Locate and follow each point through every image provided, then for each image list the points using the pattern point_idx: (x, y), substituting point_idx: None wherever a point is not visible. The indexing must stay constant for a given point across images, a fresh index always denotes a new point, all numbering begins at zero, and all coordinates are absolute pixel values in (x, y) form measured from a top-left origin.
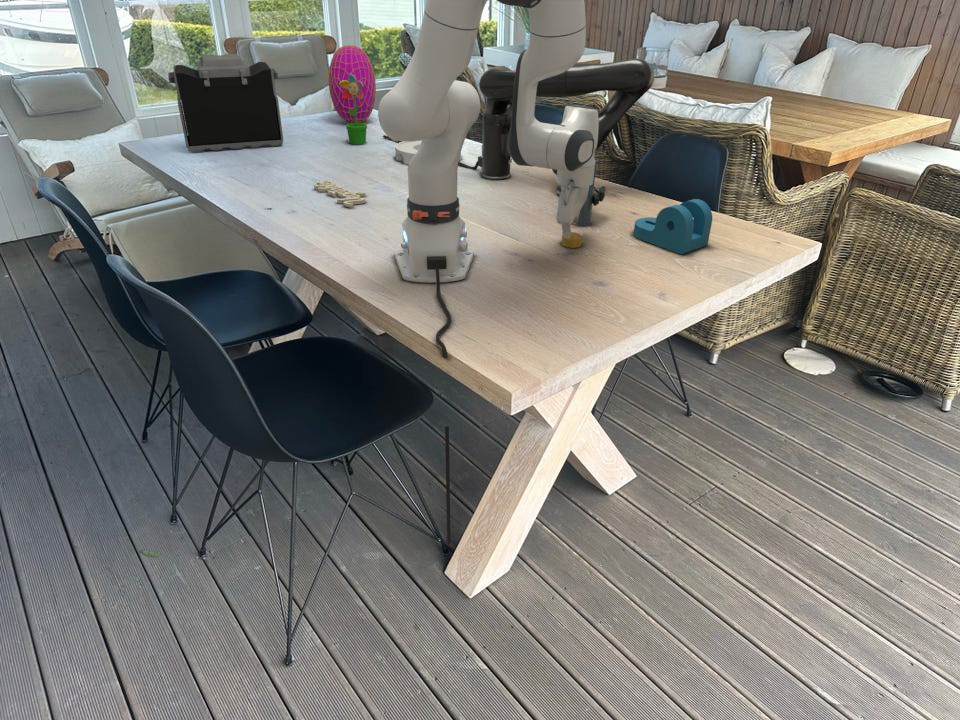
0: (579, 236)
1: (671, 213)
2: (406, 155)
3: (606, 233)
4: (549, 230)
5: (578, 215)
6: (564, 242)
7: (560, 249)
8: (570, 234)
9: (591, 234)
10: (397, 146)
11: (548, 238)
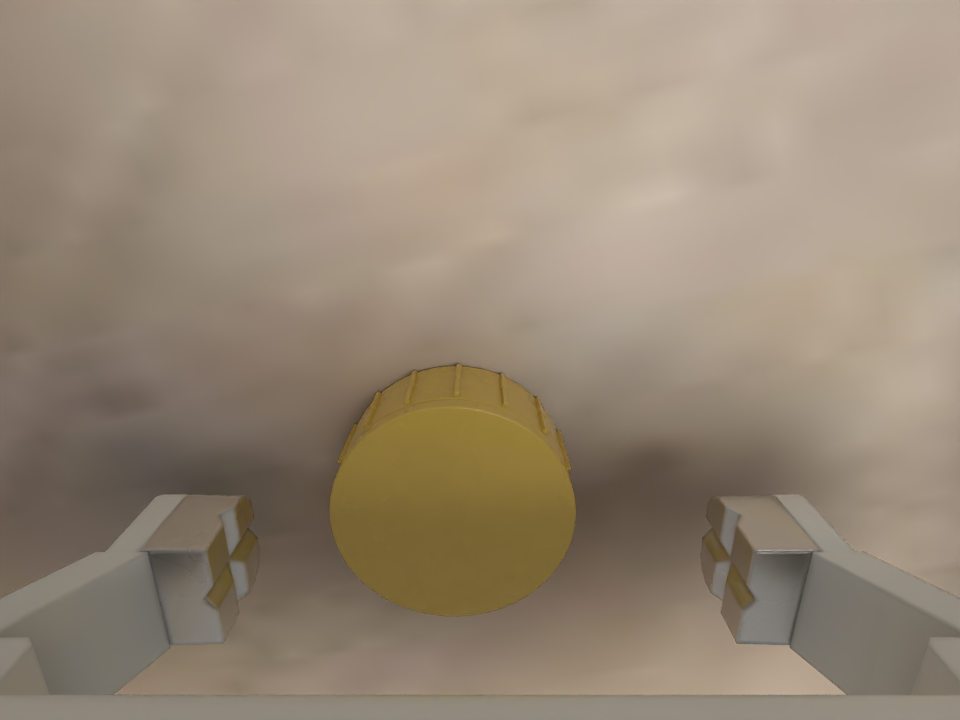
0: (458, 595)
1: None
2: None
3: None
4: (865, 123)
5: (824, 673)
6: (355, 431)
7: (263, 392)
8: (251, 583)
9: None
10: None
11: (559, 182)
